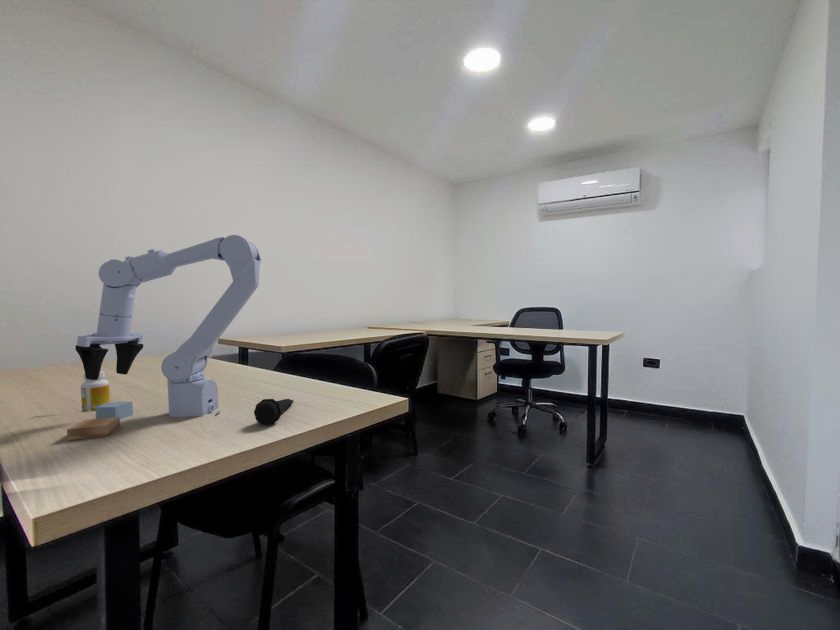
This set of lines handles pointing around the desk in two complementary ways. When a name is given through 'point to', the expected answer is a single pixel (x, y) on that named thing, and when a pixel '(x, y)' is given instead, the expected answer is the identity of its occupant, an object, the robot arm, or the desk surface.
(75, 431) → the tower mid
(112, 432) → the tower base
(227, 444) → the desk surface
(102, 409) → the cube
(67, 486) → the desk surface
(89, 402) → the supplement bottle
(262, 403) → the microphone
